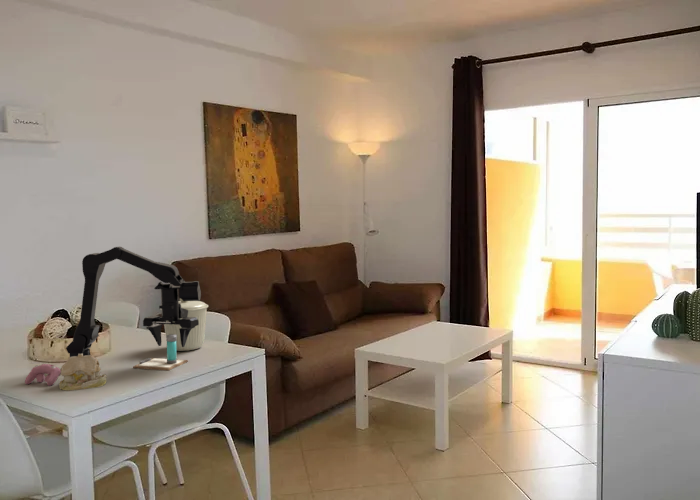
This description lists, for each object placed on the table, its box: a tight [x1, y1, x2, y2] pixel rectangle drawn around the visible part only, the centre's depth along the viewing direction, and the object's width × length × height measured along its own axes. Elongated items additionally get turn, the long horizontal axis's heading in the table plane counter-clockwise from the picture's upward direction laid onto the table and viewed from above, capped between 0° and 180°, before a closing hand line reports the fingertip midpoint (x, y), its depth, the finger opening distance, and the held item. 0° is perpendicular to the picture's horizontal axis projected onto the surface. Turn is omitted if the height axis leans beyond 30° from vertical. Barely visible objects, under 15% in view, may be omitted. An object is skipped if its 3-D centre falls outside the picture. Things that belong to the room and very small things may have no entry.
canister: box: [160, 298, 209, 352], centre depth 237 cm, size 18×18×21 cm
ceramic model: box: [58, 353, 107, 391], centre depth 190 cm, size 14×11×10 cm
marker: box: [165, 334, 178, 364], centre depth 212 cm, size 3×3×10 cm
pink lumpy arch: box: [24, 363, 61, 387], centre depth 192 cm, size 10×5×7 cm, turn 75°
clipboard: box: [132, 357, 189, 371], centre depth 213 cm, size 12×14×1 cm
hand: (171, 346), depth 212 cm, fingers open, 9 cm apart
